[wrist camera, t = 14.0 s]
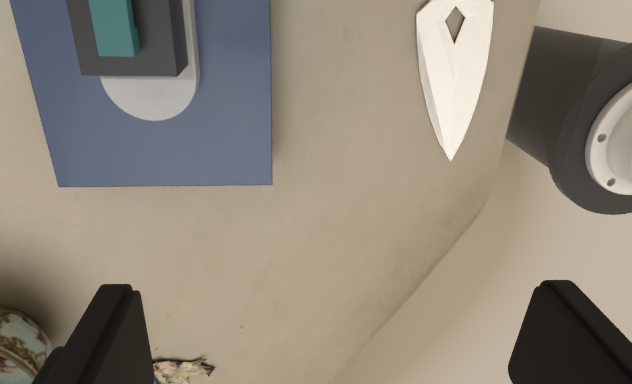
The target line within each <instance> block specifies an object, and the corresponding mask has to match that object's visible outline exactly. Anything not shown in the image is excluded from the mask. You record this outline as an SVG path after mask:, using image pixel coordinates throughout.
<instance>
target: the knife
mask: <svg viewBox="0 0 632 384" xmlns="http://www.w3.org/2000/svg"><path fill="white" fill-rule="evenodd" d="M455 6H456V7H457V8H458V10H459V11H460V12H461V13H462V15H463V16H464V17H465V19H464V21H463V24H462V26H461V29H460V31H459V34H458V36H457V38H456V41H455V43H454V42H453V40H452V37H451V35H450V32H449V30H448V27H447V25H446V22H445V20H446V19H447V17H448V16H449V14H450V13H451V12H452V10H453V9H454V7H455ZM493 10H494V3H493V2H492V1H490V0H430V1H429V2H428V3H427V4H426V5H425V6H424V7H423V8H422V9H421V10H420V11H419V12H418V13H417V47H418V59H419V70H420V78H421V83H422V87H423V92H424V96H425V101H426V105H427V110H428V113H429V116H430V119H431V122H432V125H433V128H434V131H435V133H436V136H437V138H438V141H439V143H440V145H441V146H442V148H443V150H444V151H445V153H446V155H447V156H448V158H449V160H450V162H451V160H452V158H453V156H454V154H455V153H456V151H457V149H458V147H459V146H460V144H461V142H462V140H463V138H464V136H465V134H466V131H467V129H468V126H469V124H470V121H471V118H472V116H473V113H474V110H475V107H476V104H477V101H478V97H479V93H480V89H481V86H482V82H483V78H484V74H485V71H486V67H487V61H488V54H489V47H490V40H491V33H492V24H493Z"/></svg>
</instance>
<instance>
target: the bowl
mask: <svg viewBox="0 0 632 384" xmlns="http://www.w3.org/2000/svg"><path fill="white" fill-rule="evenodd" d="M53 350H54V349H53V346H52V344H51V342H50V340H49V338H48V337H47V335H46V334H45V333H44V332H43V331H42V330H41V328H40V326H39V325H38V324H37V322H36V321H35V320H34V319H32V318H31V317H30V316H28V315H27V314H25V313H23V312H20V311H17V310H13V309H9V308H0V384H31V383H32V381H33V380H34V378H35V377H36V375H37V373H38V372H39V370H40V368H41V367H42V365H43V364H44V362H45V360H46V359H47V357H48V356H49V355H50V353H51V352H52V351H53Z"/></svg>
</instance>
